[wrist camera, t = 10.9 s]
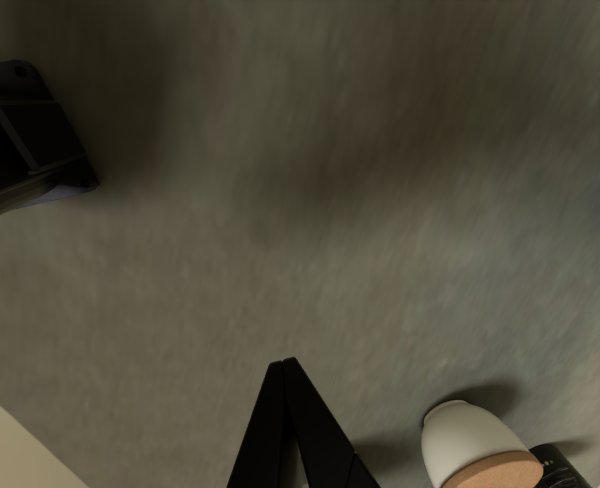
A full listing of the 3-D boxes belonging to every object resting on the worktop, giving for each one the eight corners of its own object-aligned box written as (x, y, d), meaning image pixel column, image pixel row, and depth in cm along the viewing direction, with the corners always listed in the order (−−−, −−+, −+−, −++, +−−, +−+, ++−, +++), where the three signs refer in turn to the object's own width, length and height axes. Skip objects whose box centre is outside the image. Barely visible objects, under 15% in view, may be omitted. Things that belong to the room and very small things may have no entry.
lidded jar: (491, 376, 33) (572, 470, 24) (483, 425, 38) (548, 516, 30) (403, 403, 32) (455, 507, 24) (407, 449, 37) (451, 548, 29)
